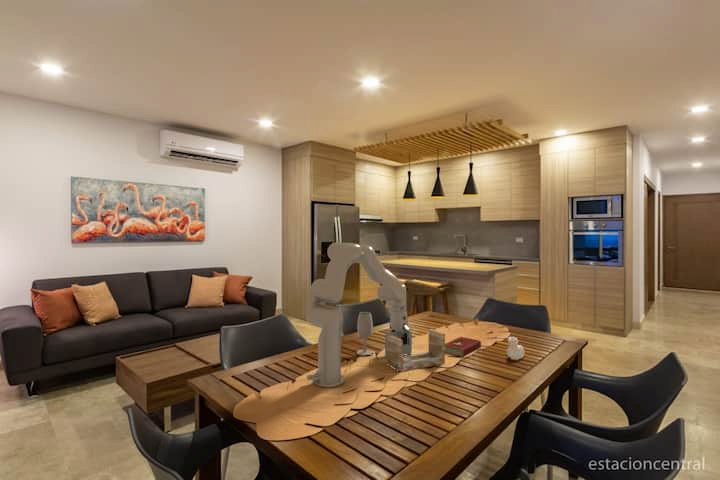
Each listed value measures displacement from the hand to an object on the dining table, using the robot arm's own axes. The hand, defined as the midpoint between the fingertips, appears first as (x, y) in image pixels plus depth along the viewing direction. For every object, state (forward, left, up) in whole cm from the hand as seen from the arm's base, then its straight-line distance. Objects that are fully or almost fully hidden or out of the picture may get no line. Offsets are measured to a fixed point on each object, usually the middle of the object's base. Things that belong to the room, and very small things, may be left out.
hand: (398, 341), depth 191 cm
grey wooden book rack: (+1, -14, -7) cm, 16 cm away
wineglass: (-14, +10, -7) cm, 19 cm away
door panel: (0, 0, -7) cm, 7 cm away
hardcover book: (+36, -7, -8) cm, 37 cm away
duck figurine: (+50, -29, -7) cm, 58 cm away
